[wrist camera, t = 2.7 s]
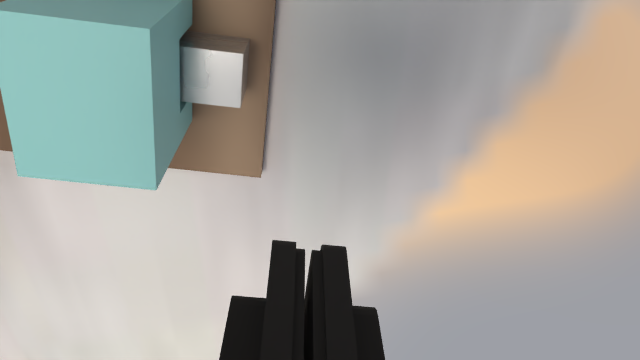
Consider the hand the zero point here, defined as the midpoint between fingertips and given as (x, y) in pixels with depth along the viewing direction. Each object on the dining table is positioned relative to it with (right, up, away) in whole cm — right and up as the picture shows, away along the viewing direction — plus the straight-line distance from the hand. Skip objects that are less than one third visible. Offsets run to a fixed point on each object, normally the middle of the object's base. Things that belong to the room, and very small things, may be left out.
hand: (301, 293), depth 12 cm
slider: (-8, +8, +11) cm, 16 cm away
